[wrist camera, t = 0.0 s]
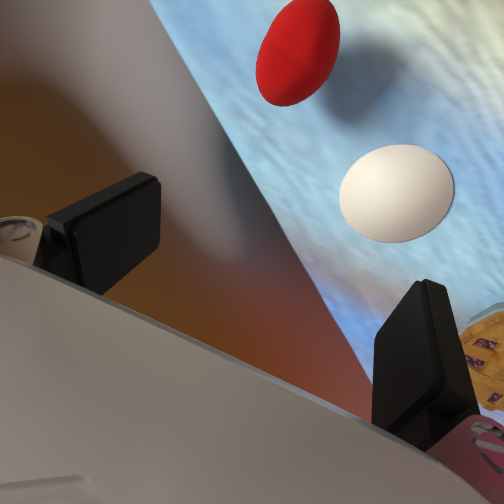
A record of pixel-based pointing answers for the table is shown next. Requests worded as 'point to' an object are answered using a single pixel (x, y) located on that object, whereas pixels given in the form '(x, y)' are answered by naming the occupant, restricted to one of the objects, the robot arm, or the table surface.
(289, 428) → the robot arm
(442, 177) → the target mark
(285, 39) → the light bulb
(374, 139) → the table surface
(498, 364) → the pie
